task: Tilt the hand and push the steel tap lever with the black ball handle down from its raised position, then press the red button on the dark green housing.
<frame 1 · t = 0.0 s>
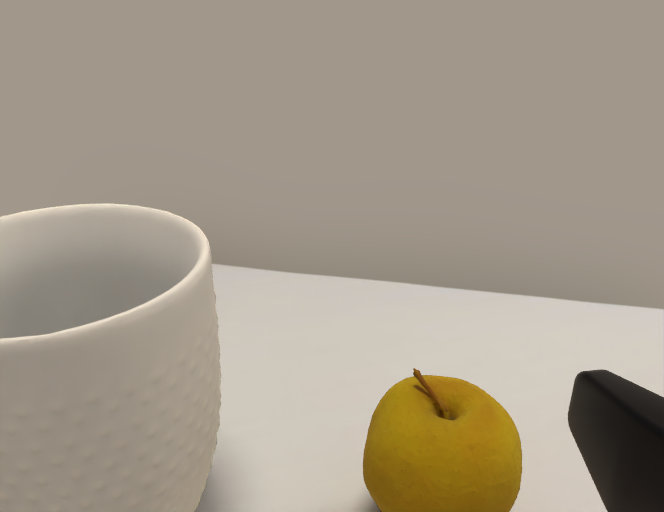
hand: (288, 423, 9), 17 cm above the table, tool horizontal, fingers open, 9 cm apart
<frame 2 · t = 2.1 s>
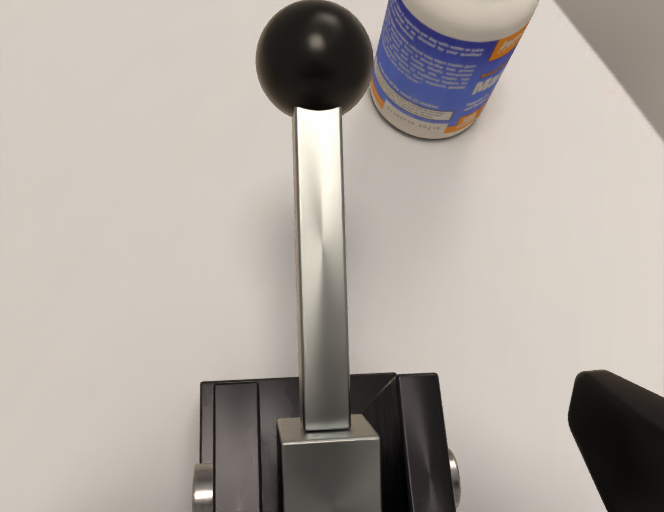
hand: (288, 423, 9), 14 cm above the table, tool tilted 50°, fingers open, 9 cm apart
pill bottle: (424, 95, 29), on the table
lever: (320, 271, 15), point 10 cm above the table, hinge at 20.0°
bracket: (304, 497, 22), on the table
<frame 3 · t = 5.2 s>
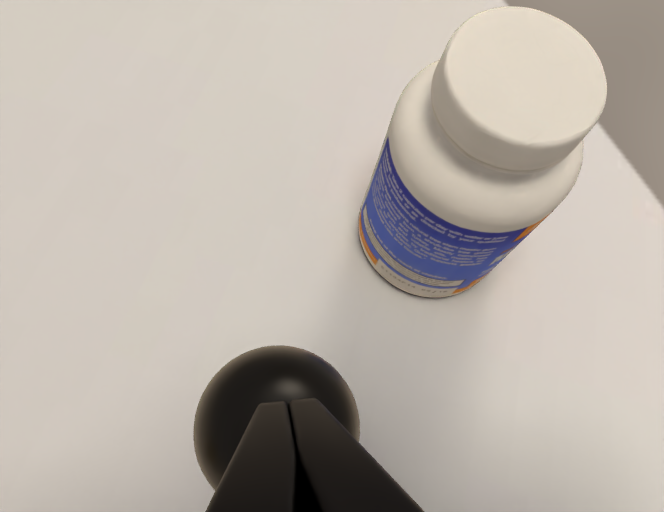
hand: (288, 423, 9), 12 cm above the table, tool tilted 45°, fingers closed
pill bottle: (424, 233, 24), on the table
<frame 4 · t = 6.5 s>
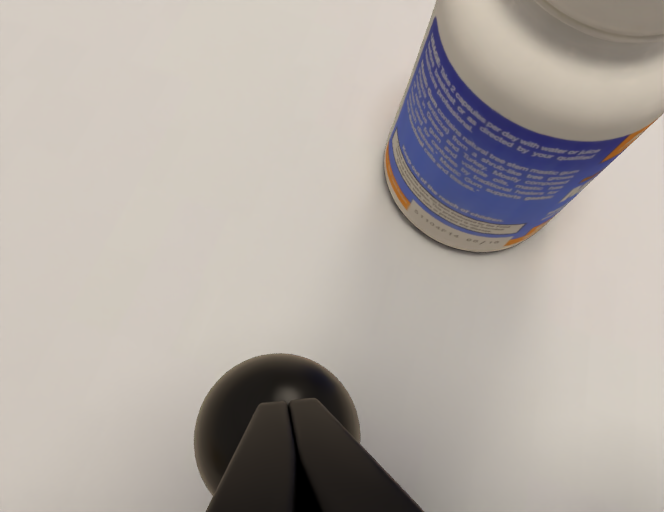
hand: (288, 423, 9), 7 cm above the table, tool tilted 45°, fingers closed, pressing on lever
pill bottle: (465, 175, 19), on the table
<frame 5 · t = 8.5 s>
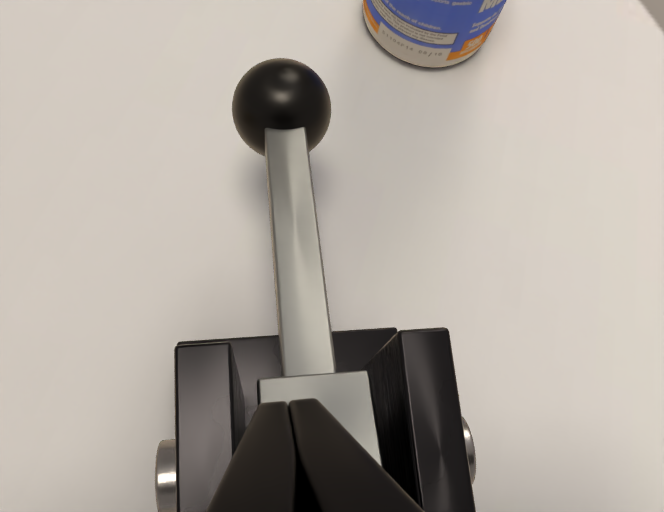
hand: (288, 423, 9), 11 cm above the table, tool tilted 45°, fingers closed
pill bottle: (423, 18, 26), on the table
lever: (296, 254, 15), point 7 cm above the table, hinge at -15.8°
bracket: (296, 466, 20), on the table
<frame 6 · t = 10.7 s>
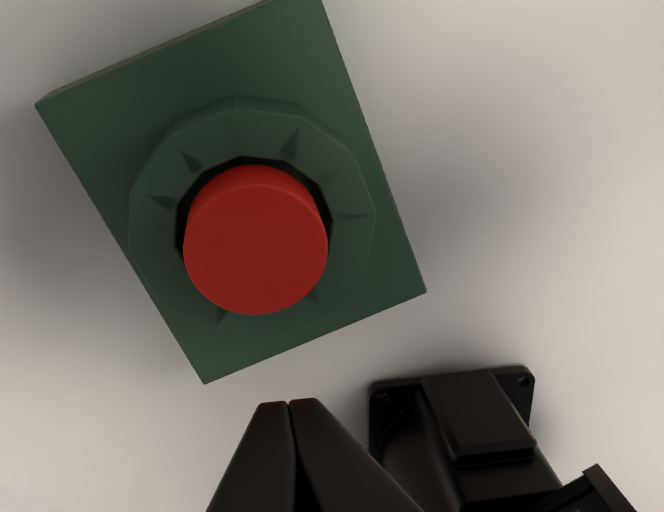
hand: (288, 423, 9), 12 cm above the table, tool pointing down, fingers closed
button box: (250, 190, 20), on the table
button: (255, 239, 17), point 4 cm above the table, slide at 0.1 cm
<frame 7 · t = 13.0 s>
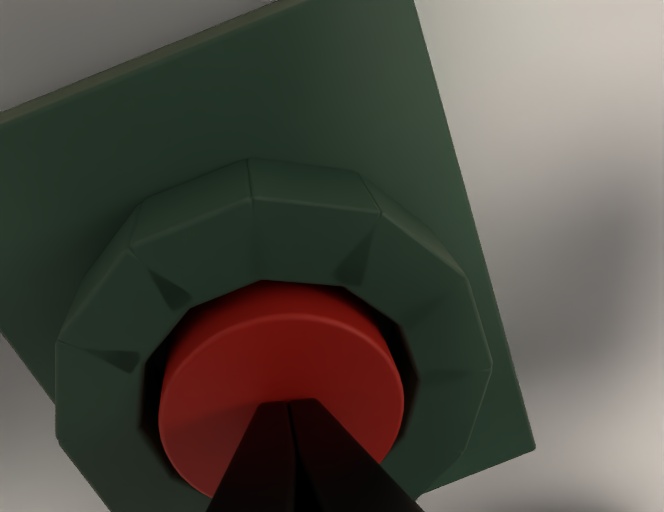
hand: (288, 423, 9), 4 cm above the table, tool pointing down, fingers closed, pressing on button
button box: (267, 293, 13), on the table
button: (280, 385, 10), point 3 cm above the table, slide at -0.8 cm, touching gripper
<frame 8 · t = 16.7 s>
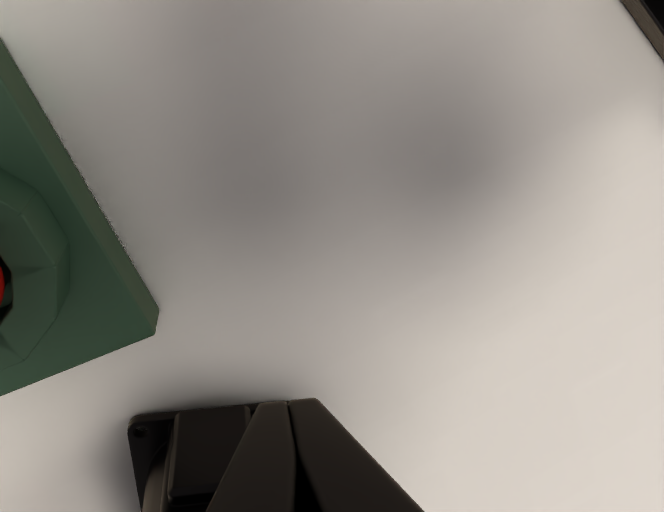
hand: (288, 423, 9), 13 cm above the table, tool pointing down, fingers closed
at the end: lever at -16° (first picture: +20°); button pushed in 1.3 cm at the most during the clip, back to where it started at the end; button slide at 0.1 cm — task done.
